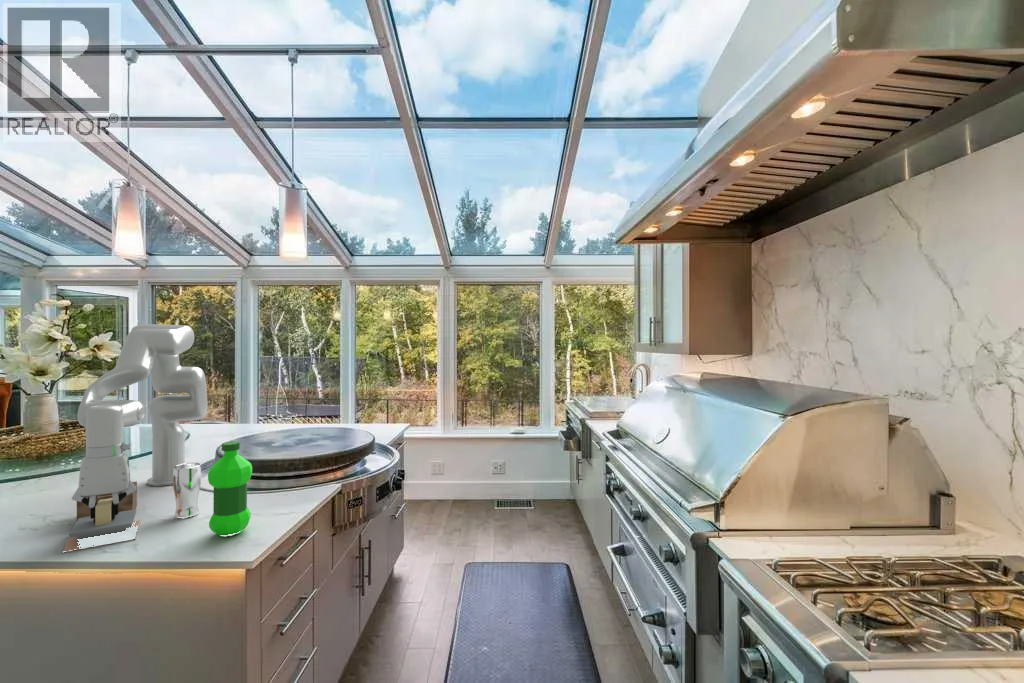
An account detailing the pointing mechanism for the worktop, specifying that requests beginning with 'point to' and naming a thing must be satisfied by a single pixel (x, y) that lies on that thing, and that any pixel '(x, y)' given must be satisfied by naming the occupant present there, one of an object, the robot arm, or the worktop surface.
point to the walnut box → (124, 505)
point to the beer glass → (186, 488)
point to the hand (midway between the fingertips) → (104, 518)
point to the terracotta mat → (73, 541)
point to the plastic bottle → (230, 491)
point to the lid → (102, 521)
